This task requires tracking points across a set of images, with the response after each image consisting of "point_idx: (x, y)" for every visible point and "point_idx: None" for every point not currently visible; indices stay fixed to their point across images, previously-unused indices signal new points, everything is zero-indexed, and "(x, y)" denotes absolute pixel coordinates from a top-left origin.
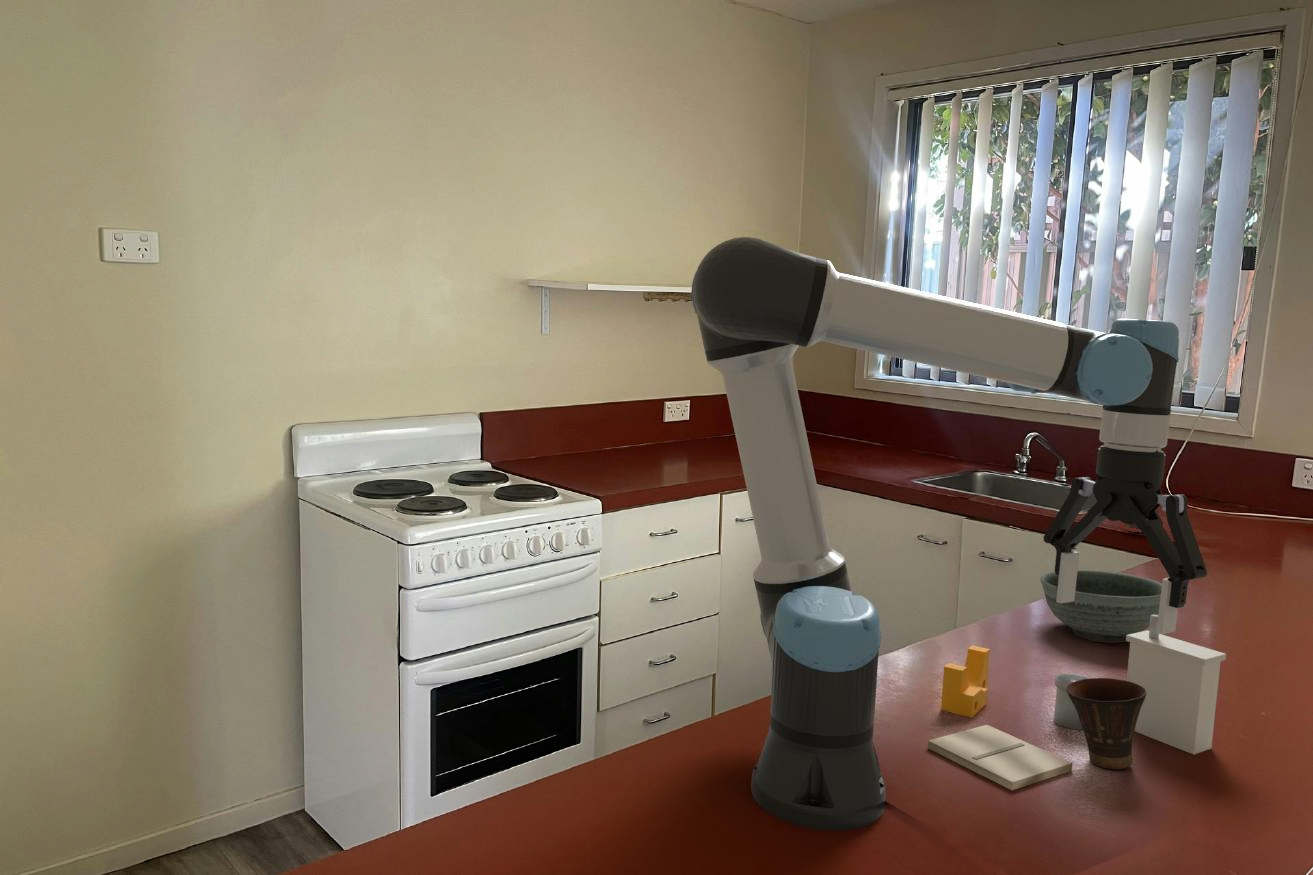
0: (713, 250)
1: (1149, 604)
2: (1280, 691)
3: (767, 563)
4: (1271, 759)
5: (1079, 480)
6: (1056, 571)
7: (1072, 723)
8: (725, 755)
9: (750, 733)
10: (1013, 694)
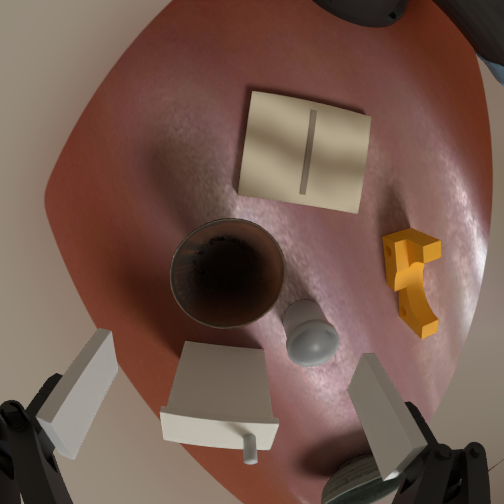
0: None
1: (327, 496)
2: (221, 472)
3: None
4: (147, 377)
5: None
6: (411, 406)
7: (296, 304)
8: (428, 4)
9: (452, 46)
10: (376, 329)
